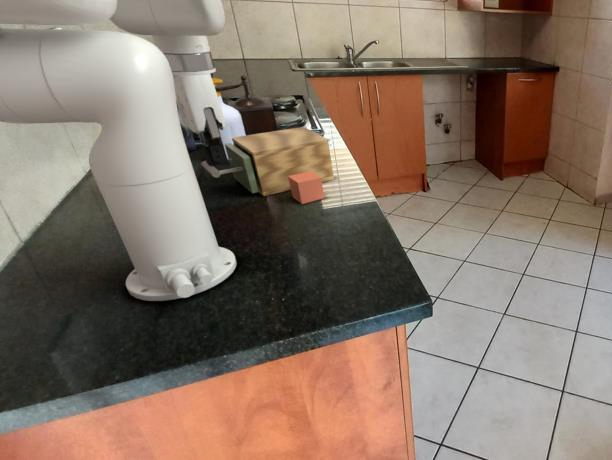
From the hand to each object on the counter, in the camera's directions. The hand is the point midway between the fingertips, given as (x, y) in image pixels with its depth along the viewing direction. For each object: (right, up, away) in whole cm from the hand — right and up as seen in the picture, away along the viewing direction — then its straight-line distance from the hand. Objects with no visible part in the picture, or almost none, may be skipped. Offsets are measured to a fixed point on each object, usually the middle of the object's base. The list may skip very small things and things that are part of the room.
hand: (217, 163), depth 82 cm
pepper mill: (-15, +12, +33) cm, 38 cm away
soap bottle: (-12, +5, +21) cm, 25 cm away
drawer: (+5, -2, +7) cm, 9 cm away
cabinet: (+8, -2, +11) cm, 14 cm away
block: (+16, -6, +3) cm, 18 cm away
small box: (-26, +5, +20) cm, 34 cm away
